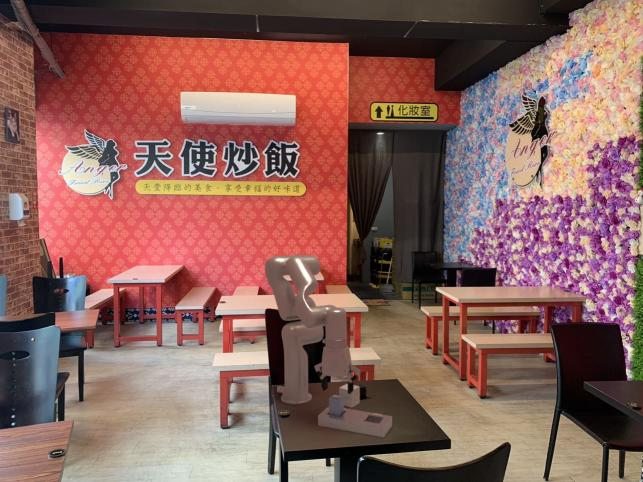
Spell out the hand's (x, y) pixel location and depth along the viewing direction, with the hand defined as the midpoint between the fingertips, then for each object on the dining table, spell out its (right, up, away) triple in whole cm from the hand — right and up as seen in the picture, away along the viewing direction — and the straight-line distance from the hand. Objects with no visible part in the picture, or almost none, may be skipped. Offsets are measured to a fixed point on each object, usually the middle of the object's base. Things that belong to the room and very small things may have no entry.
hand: (337, 391), depth 167 cm
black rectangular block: (+11, -12, +28) cm, 33 cm away
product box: (+5, -12, +18) cm, 22 cm away
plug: (0, -11, +1) cm, 11 cm away
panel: (+6, -12, -2) cm, 14 cm away
